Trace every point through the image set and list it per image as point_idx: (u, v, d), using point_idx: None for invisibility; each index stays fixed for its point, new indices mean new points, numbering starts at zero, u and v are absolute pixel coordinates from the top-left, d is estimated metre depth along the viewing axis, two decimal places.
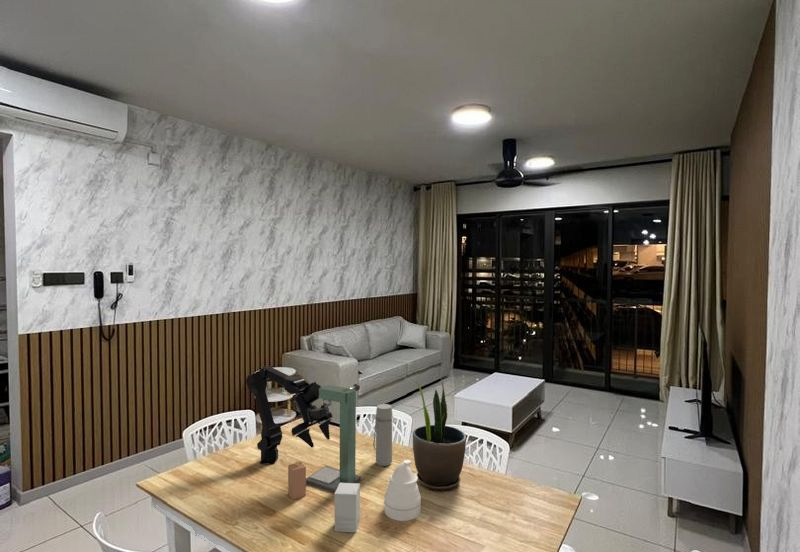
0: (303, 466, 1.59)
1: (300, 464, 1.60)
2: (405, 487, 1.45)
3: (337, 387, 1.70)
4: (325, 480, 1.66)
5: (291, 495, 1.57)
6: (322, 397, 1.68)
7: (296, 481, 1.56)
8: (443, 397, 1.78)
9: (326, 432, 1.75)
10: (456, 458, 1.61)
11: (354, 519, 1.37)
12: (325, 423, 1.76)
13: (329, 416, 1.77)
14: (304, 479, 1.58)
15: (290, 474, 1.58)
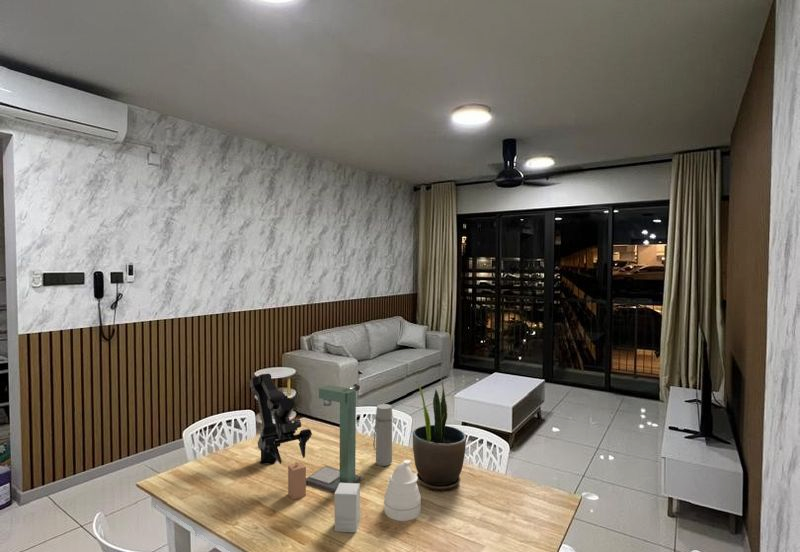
0: (303, 466, 1.59)
1: (300, 464, 1.60)
2: (405, 487, 1.45)
3: (337, 387, 1.70)
4: (325, 480, 1.66)
5: (291, 495, 1.57)
6: (322, 397, 1.68)
7: (296, 481, 1.56)
8: (443, 397, 1.78)
9: (302, 450, 1.67)
10: (456, 458, 1.61)
11: (354, 519, 1.37)
12: (302, 440, 1.68)
13: (306, 433, 1.70)
14: (304, 479, 1.58)
15: (290, 474, 1.58)
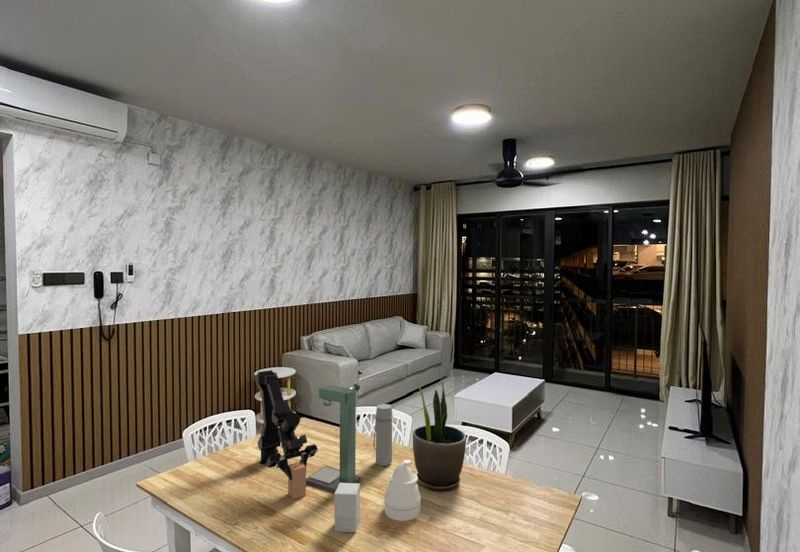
0: (303, 466, 1.59)
1: (300, 464, 1.60)
2: (405, 487, 1.45)
3: (337, 387, 1.70)
4: (325, 480, 1.66)
5: (291, 495, 1.57)
6: (322, 397, 1.68)
7: (296, 481, 1.56)
8: (443, 397, 1.78)
9: None
10: (456, 458, 1.61)
11: (354, 519, 1.37)
12: (303, 457, 1.62)
13: (312, 449, 1.65)
14: (304, 479, 1.58)
15: None
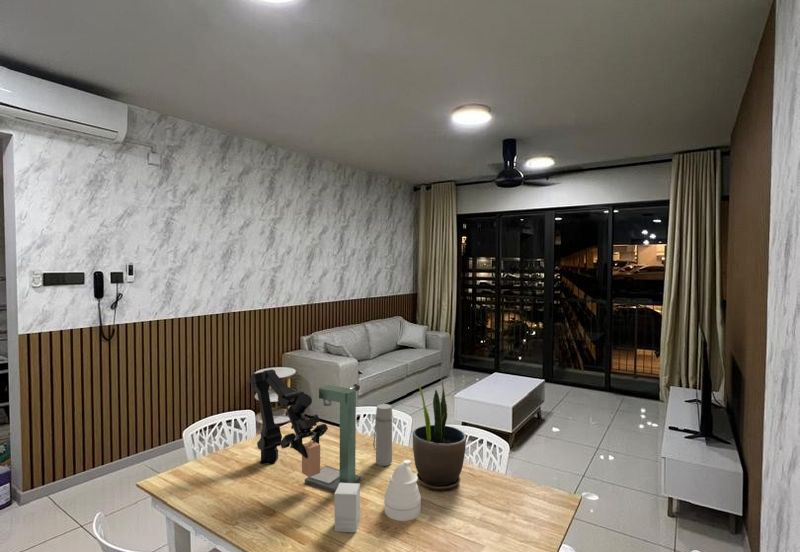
0: (317, 444, 1.63)
1: (313, 443, 1.65)
2: (405, 487, 1.45)
3: (337, 387, 1.70)
4: (325, 480, 1.66)
5: (306, 473, 1.61)
6: (322, 397, 1.68)
7: (312, 459, 1.61)
8: (443, 397, 1.78)
9: None
10: (456, 458, 1.61)
11: (354, 519, 1.37)
12: (315, 436, 1.67)
13: (323, 428, 1.70)
14: (319, 456, 1.63)
15: None
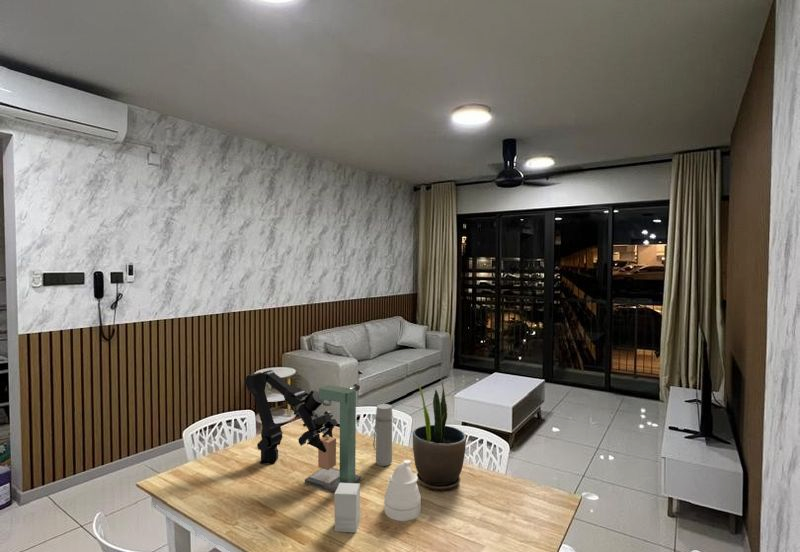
0: (333, 438, 1.71)
1: None
2: (405, 487, 1.45)
3: (337, 387, 1.70)
4: (325, 480, 1.66)
5: (325, 466, 1.68)
6: (322, 397, 1.68)
7: (330, 453, 1.68)
8: (443, 397, 1.78)
9: None
10: (456, 458, 1.61)
11: (354, 519, 1.37)
12: (328, 431, 1.74)
13: (334, 422, 1.78)
14: (335, 449, 1.71)
15: None
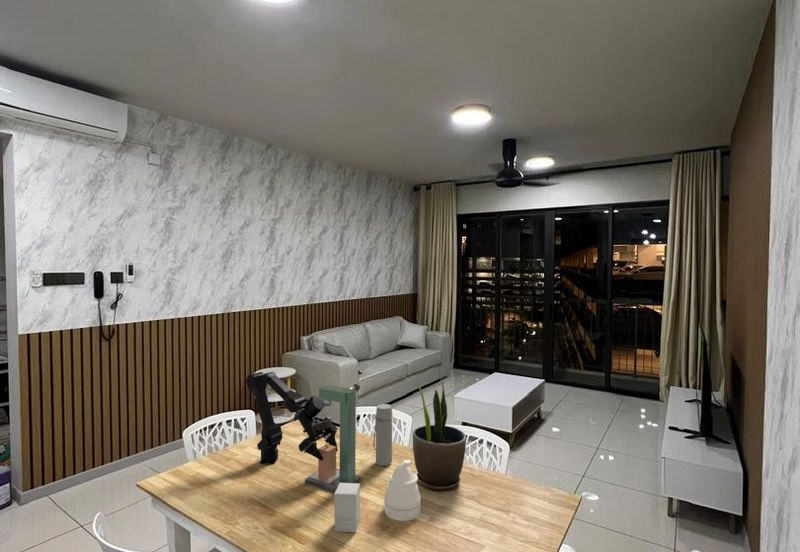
0: (333, 446, 1.71)
1: (328, 446, 1.72)
2: (405, 487, 1.45)
3: (337, 387, 1.70)
4: (325, 480, 1.66)
5: (325, 475, 1.68)
6: (322, 397, 1.68)
7: (330, 461, 1.68)
8: (443, 397, 1.78)
9: (333, 444, 1.75)
10: (456, 458, 1.61)
11: (354, 519, 1.37)
12: (331, 436, 1.76)
13: (334, 428, 1.78)
14: (335, 458, 1.71)
15: (323, 456, 1.69)
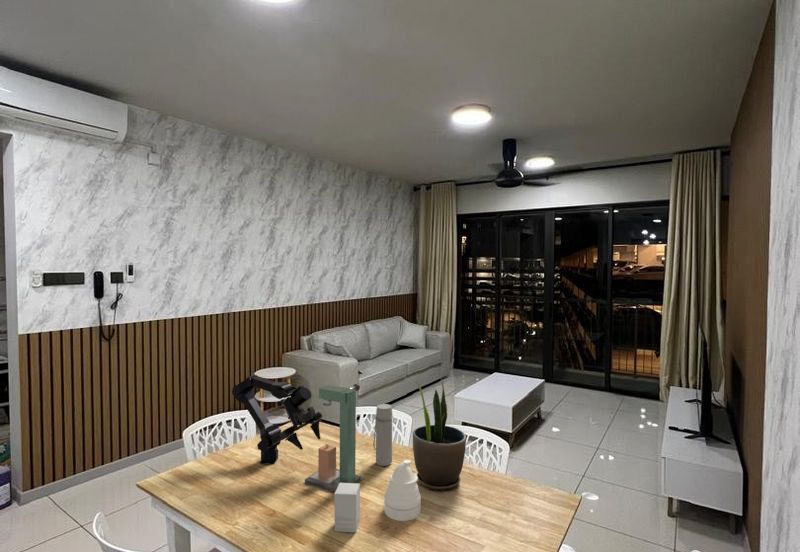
0: (333, 446, 1.71)
1: (328, 446, 1.72)
2: (405, 487, 1.45)
3: (337, 387, 1.70)
4: (325, 480, 1.66)
5: (325, 475, 1.68)
6: (322, 397, 1.68)
7: (330, 461, 1.68)
8: (443, 397, 1.78)
9: (316, 432, 1.80)
10: (456, 458, 1.61)
11: (354, 519, 1.37)
12: (315, 424, 1.81)
13: (318, 417, 1.81)
14: (335, 458, 1.71)
15: (323, 456, 1.69)
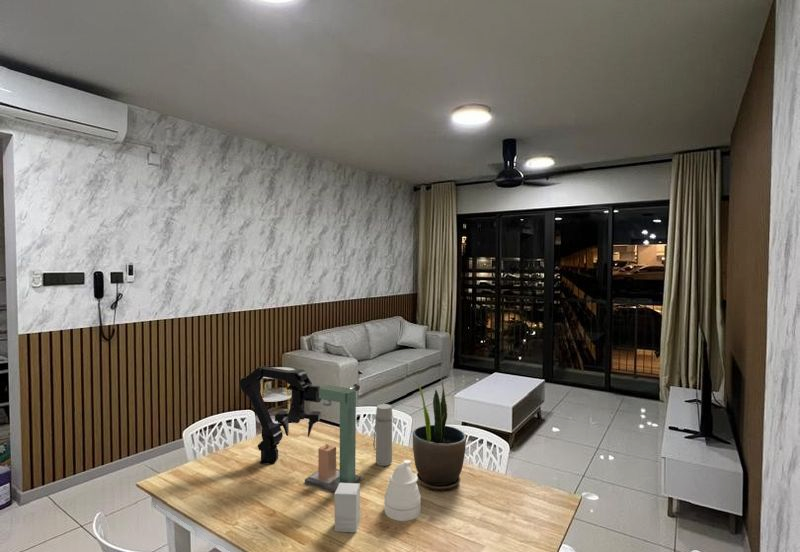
0: (333, 446, 1.71)
1: (328, 446, 1.72)
2: (405, 487, 1.45)
3: (337, 387, 1.70)
4: (325, 480, 1.66)
5: (325, 475, 1.68)
6: (322, 397, 1.68)
7: (330, 461, 1.68)
8: (443, 397, 1.78)
9: (308, 430, 1.82)
10: (456, 458, 1.61)
11: (354, 519, 1.37)
12: None
13: (312, 420, 1.79)
14: (335, 458, 1.71)
15: (323, 456, 1.69)
